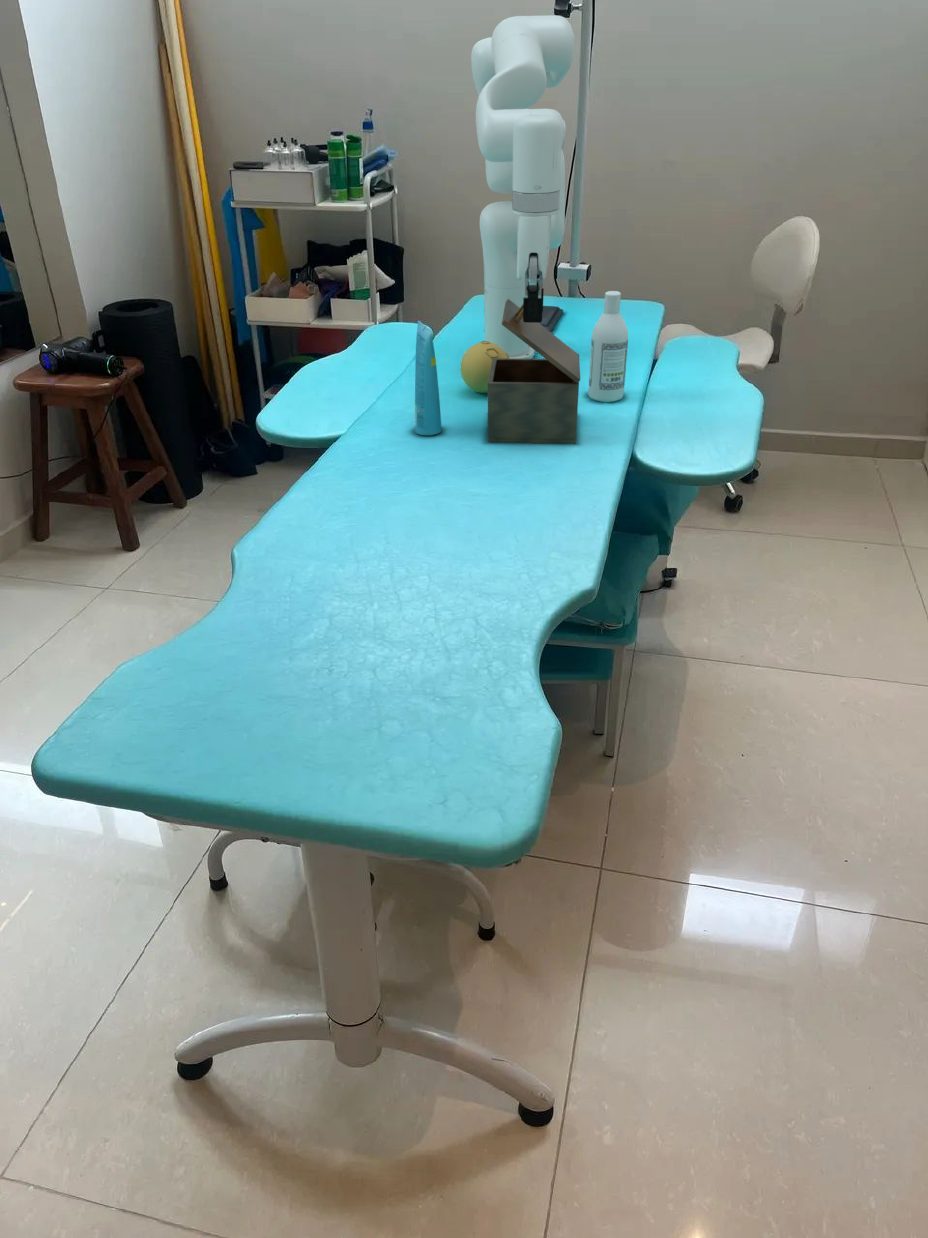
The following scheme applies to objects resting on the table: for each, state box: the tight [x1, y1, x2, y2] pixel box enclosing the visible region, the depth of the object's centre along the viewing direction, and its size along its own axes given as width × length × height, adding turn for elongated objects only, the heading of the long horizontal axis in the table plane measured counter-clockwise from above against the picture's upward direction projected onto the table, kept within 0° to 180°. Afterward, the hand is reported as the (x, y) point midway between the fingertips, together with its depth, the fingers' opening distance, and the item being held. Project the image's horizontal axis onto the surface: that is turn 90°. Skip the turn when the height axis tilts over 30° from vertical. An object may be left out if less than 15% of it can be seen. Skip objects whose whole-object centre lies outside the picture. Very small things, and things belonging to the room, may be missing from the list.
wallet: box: [540, 305, 564, 333], centre depth 225 cm, size 20×2×15 cm
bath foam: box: [587, 290, 629, 403], centre depth 176 cm, size 7×7×20 cm
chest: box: [487, 358, 580, 445], centre depth 165 cm, size 16×14×11 cm
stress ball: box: [460, 340, 509, 394], centre depth 182 cm, size 10×10×10 cm
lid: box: [502, 299, 581, 383], centre depth 158 cm, size 16×14×6 cm
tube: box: [414, 319, 442, 436], centre depth 163 cm, size 7×5×19 cm, turn 26°
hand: (533, 315), depth 157 cm, fingers closed on lid, 5 cm apart
